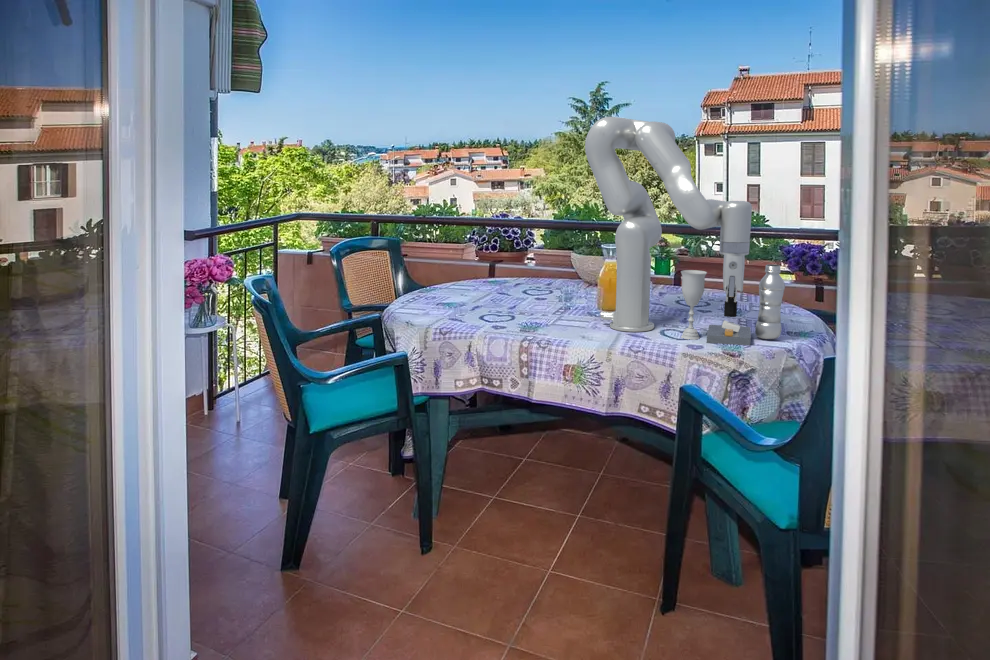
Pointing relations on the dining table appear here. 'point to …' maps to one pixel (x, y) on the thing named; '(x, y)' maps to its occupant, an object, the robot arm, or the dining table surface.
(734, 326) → the block
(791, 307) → the dining table surface
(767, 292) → the plastic bottle
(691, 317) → the chalice
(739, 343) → the panel
